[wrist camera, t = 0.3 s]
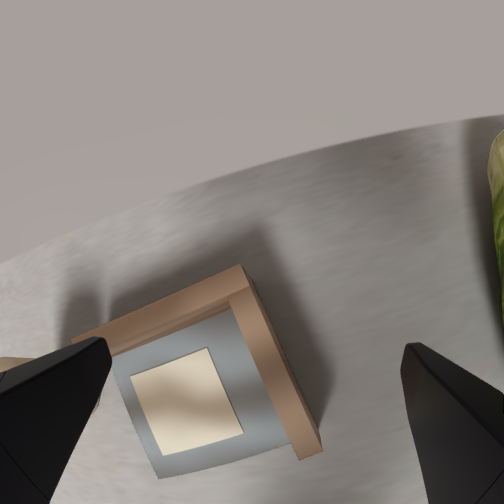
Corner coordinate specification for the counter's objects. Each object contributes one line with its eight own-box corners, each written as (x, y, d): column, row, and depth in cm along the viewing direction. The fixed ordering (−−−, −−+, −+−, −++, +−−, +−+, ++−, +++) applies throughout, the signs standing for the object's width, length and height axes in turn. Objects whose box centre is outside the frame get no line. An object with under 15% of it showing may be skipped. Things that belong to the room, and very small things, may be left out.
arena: (318, 429, 20) (322, 451, 16) (160, 477, 21) (133, 499, 16) (252, 279, 24) (240, 263, 20) (106, 341, 25) (70, 338, 20)
